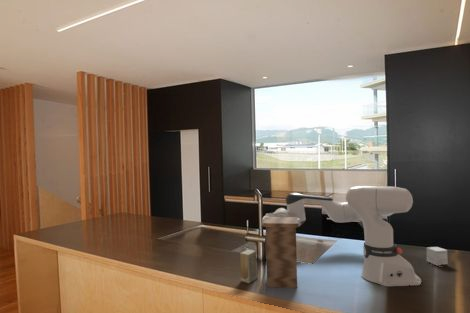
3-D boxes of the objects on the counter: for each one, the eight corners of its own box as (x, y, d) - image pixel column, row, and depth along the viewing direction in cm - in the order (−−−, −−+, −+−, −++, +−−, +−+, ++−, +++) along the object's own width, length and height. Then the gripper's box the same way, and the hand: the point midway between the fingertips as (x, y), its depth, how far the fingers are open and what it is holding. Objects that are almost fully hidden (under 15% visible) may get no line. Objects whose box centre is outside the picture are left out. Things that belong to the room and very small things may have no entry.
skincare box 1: (249, 276, 137) (248, 248, 137) (257, 278, 135) (256, 250, 135) (240, 281, 132) (239, 252, 132) (248, 283, 130) (247, 254, 130)
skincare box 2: (436, 267, 143) (436, 251, 143) (426, 262, 149) (426, 247, 149) (448, 266, 144) (447, 250, 144) (437, 261, 150) (437, 246, 150)
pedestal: (298, 277, 135) (297, 217, 135) (299, 289, 123) (298, 223, 123) (266, 276, 137) (264, 217, 137) (264, 287, 125) (262, 223, 125)
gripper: (300, 225, 172) (301, 231, 159) (263, 224, 175) (261, 230, 162) (300, 213, 172) (301, 218, 159) (263, 213, 175) (261, 218, 162)
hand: (280, 224), depth 160 cm, fingers closed on bar, 2 cm apart
